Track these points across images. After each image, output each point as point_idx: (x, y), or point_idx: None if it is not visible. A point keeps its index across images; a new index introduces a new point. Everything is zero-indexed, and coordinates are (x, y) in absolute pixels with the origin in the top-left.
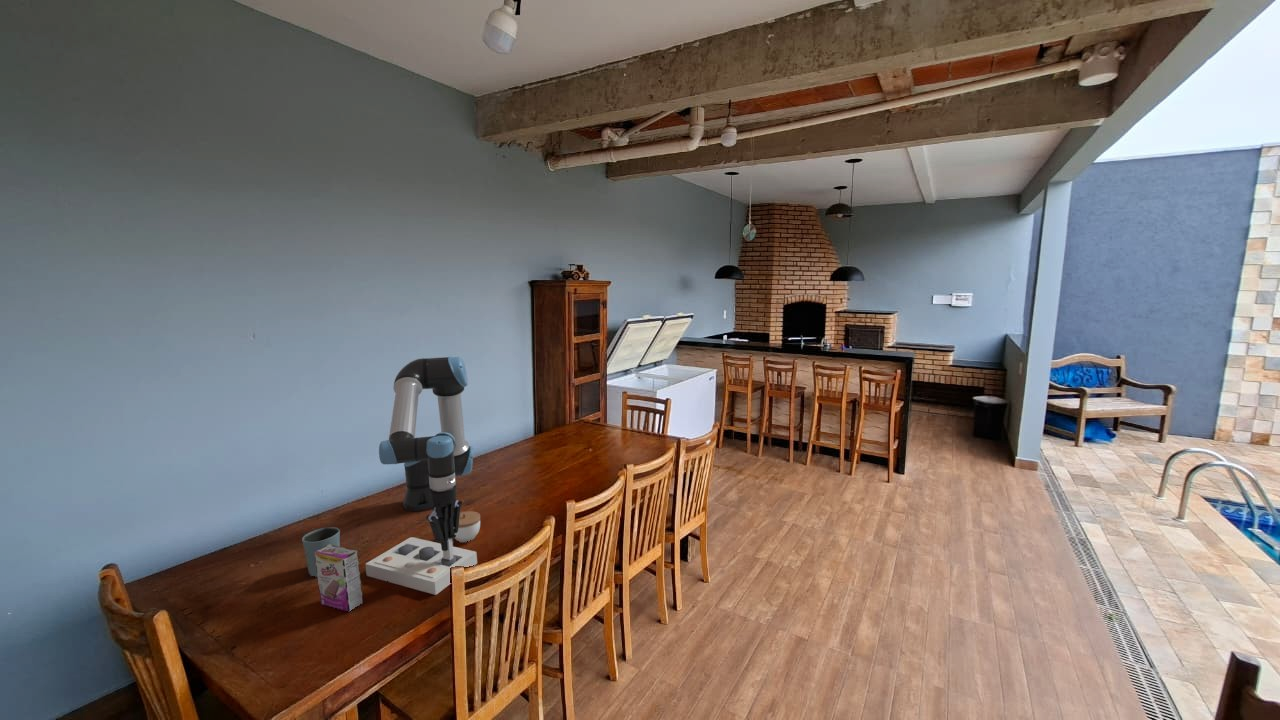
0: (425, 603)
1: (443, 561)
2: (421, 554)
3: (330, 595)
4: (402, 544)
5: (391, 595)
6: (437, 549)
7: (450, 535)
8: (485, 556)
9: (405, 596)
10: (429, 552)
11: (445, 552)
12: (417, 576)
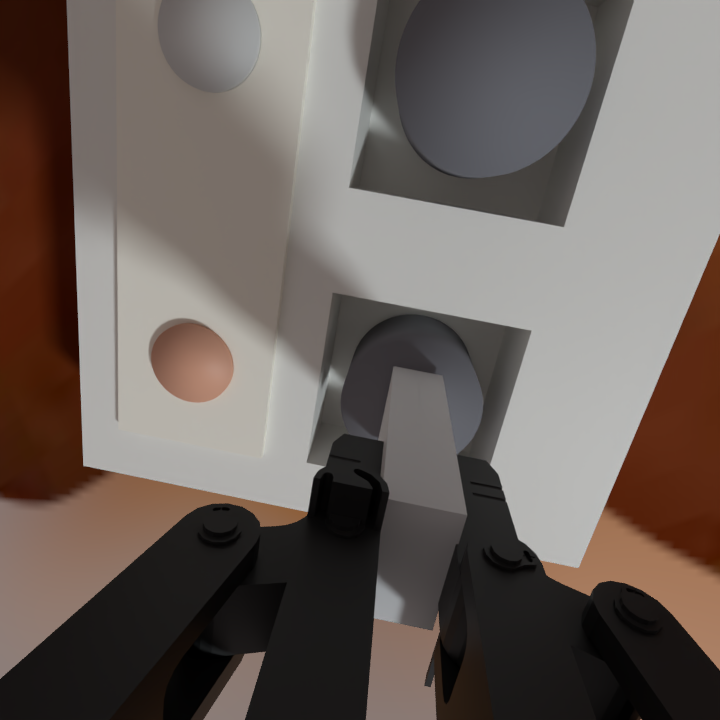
0: (52, 400)
1: (353, 386)
2: (398, 63)
3: None
4: None
5: (16, 88)
6: (615, 150)
7: (437, 654)
8: (652, 514)
9: (52, 216)
10: (442, 160)
11: (383, 431)
12: (91, 274)
